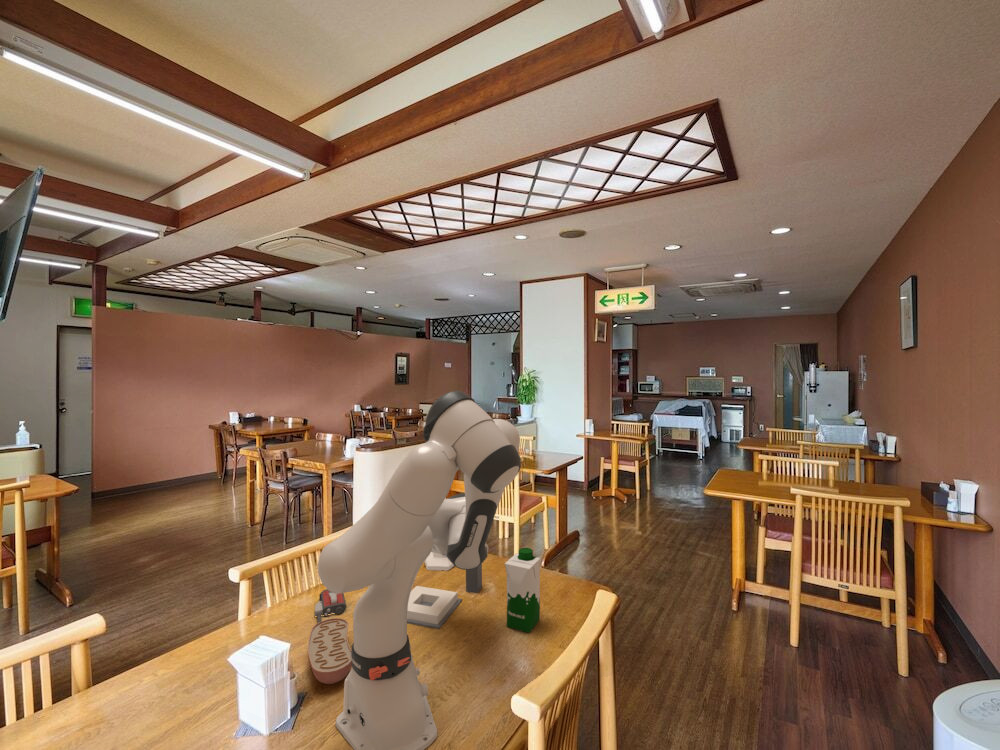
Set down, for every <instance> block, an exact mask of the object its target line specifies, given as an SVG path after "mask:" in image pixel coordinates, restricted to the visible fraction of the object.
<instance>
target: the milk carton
mask: <svg viewBox="0 0 1000 750" xmlns="http://www.w3.org/2000/svg"><path fill="white" fill-rule="evenodd" d="M504 567H505V571H506V627H507V628H511V629H514V630H517V631H521V632H524V633H528V634H530V633H531V631H533V629H534V628H535V627H536V625H537V624H538V623H539V621H540V613H541V612H540V611H541V601H540V600H541V599H540V598H541V596H540V595H541V592H540V591H541V590H540V589H541V588H540V587H541V586H540V585H541V582H540V581H541V580H540V578H541V577H540V576H541V574H540V573H541V558H540V557H537V556H534V552H533V549H532V548H531V547H521V548H520V549H519V550H518V553H515V554H514V555H513V556H511V557H510V558H509V559H507V561H506V562H504Z"/></svg>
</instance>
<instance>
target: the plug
mask: <svg viewBox="0 0 1000 750" xmlns="http://www.w3.org/2000/svg"><path fill="white" fill-rule="evenodd" d="M482 589H483V563H482V564H481V565H479V566H478V567H477V568H474V569H470V570H465V592H468V593H473V594H479V592H480V591H481V590H482Z"/></svg>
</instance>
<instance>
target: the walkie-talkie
mask: <svg viewBox="0 0 1000 750" xmlns="http://www.w3.org/2000/svg"><path fill="white" fill-rule="evenodd" d="M344 595H345V593H340V594H335V593H332V592H331V591H329V590H328V589H327V588H326V589H324V590H322V591H321V592H320V593H319V597H318V598H319V601H317V603H316V604H315V605H314V617H315V616H317V618H316V619H317V621H316V622H317V624H318V623H319V622H322V617H321V615H324V616H326V615H328V614H331V613H337V614H336V615H340V613H341V614H342V612H343V613H345V612H344V611H345V610H346V611H347V603H346V602H347V601H346V599H345V596H344ZM324 616H323V617H324Z"/></svg>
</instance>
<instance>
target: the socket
mask: <svg viewBox="0 0 1000 750" xmlns="http://www.w3.org/2000/svg"><path fill="white" fill-rule="evenodd" d="M462 602H463V599H462V598H459V597H458V591H451V590H445V589H440V588H439V589H438V588H432V587H428V586H427V587H426V586H420V585H416V586H415V587H414V588H412V589H411V592H410V596H409V601H408V611H407V624H409V625H416V626H420V627H424V628H425V627H426V628H431V629H436V630H440V629H441V628H442V627H443V625H444V624H445V623H446V622H447V620H448V619H449V618H450V617H451V615H452V614H453V613H454V611H455V610H456V609H457V607H458V606H459V605H460V604H461V603H462Z"/></svg>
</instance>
